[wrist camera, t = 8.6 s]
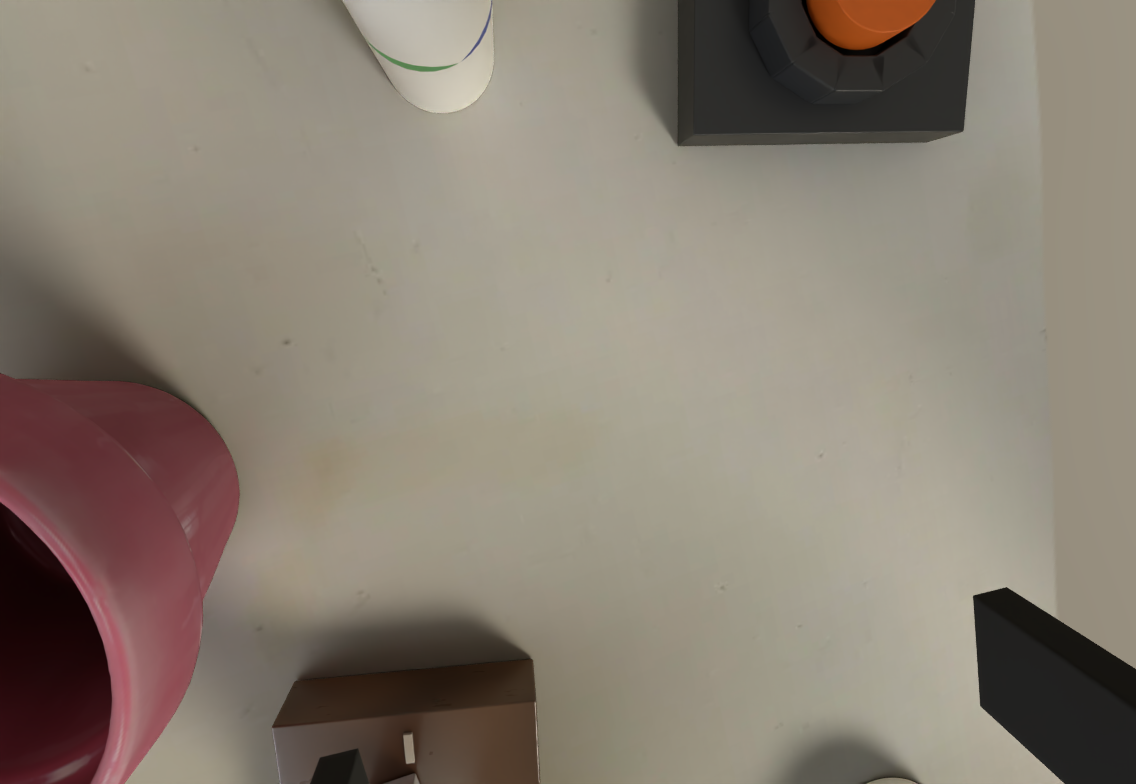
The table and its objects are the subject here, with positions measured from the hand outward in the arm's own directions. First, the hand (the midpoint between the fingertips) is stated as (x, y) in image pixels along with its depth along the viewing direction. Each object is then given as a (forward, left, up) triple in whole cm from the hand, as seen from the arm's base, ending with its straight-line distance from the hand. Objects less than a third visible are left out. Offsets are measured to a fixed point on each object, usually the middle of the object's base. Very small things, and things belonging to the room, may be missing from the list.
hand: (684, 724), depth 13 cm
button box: (-10, -19, -16) cm, 26 cm away
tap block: (+8, +15, -16) cm, 23 cm away
